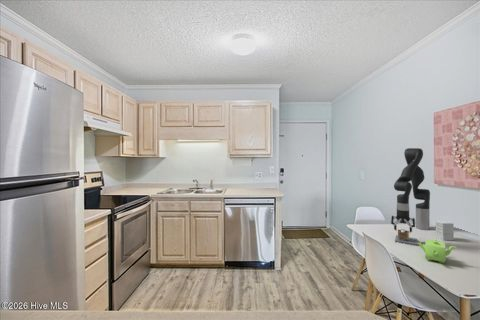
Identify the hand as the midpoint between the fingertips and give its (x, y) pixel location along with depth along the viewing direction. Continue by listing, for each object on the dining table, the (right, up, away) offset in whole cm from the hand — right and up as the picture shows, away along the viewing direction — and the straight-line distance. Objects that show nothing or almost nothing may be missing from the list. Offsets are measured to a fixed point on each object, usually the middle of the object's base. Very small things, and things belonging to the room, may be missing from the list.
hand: (402, 231), depth 171 cm
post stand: (+2, -7, 0) cm, 7 cm away
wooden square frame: (0, -4, 0) cm, 4 cm away
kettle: (-1, -8, -30) cm, 31 cm away
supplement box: (+33, -7, +4) cm, 34 cm away
